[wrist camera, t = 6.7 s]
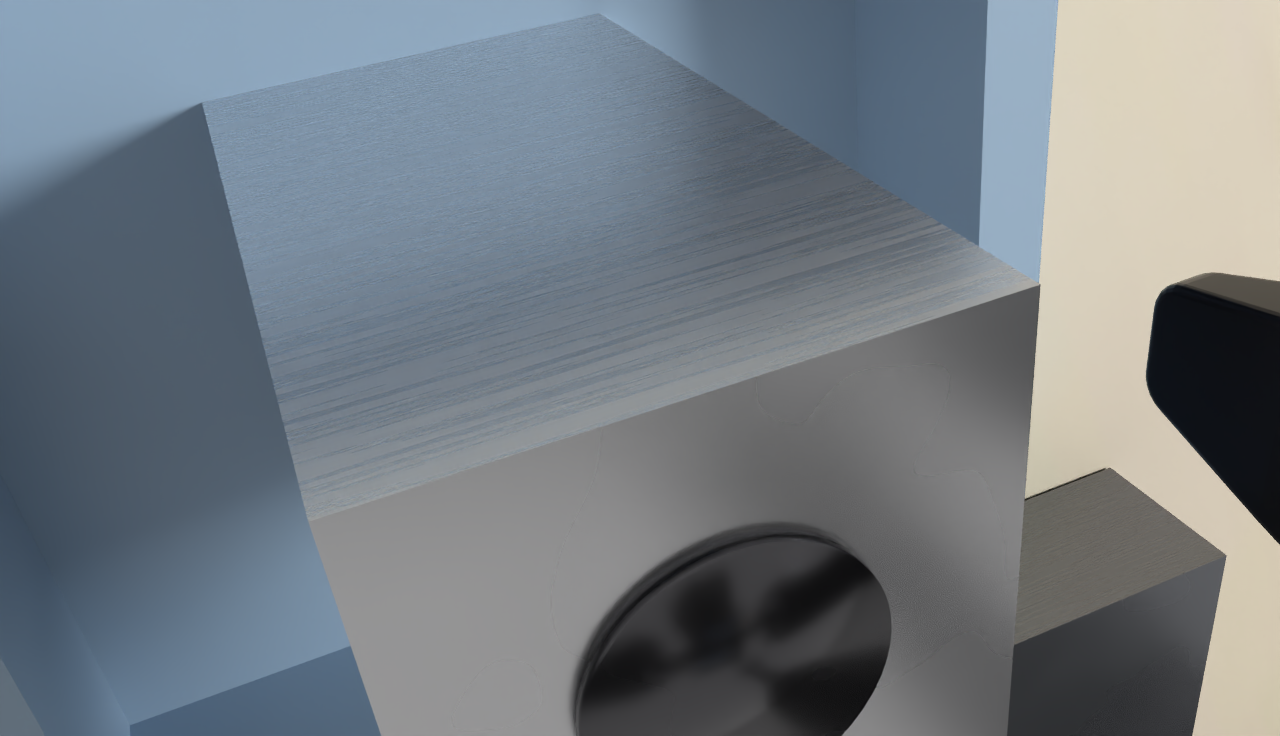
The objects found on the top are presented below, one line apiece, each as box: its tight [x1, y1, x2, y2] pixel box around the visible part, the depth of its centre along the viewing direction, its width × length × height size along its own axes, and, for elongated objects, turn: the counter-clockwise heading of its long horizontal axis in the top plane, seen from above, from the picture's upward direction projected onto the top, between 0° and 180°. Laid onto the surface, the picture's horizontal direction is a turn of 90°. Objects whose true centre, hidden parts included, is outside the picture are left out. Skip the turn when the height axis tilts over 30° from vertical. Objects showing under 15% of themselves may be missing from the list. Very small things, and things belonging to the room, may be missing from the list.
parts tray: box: [0, 0, 1058, 736], centre depth 12 cm, size 12×12×3 cm
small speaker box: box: [202, 13, 1040, 736], centre depth 10 cm, size 4×4×7 cm
